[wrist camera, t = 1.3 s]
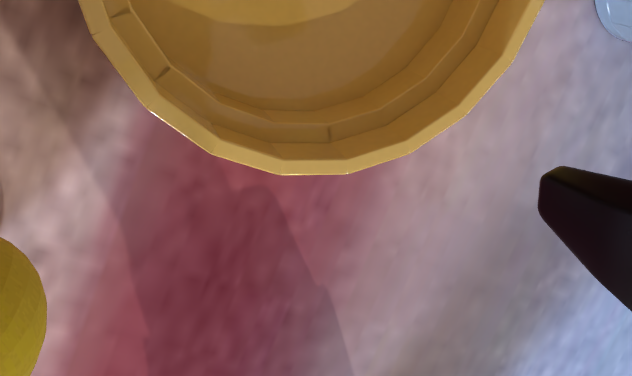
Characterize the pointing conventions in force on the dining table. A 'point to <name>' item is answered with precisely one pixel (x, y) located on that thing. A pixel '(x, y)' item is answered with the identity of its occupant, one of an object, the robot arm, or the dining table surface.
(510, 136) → the dining table surface
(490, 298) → the dining table surface
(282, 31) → the bowl
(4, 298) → the lemon
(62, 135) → the dining table surface
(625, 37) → the blue tumbler
